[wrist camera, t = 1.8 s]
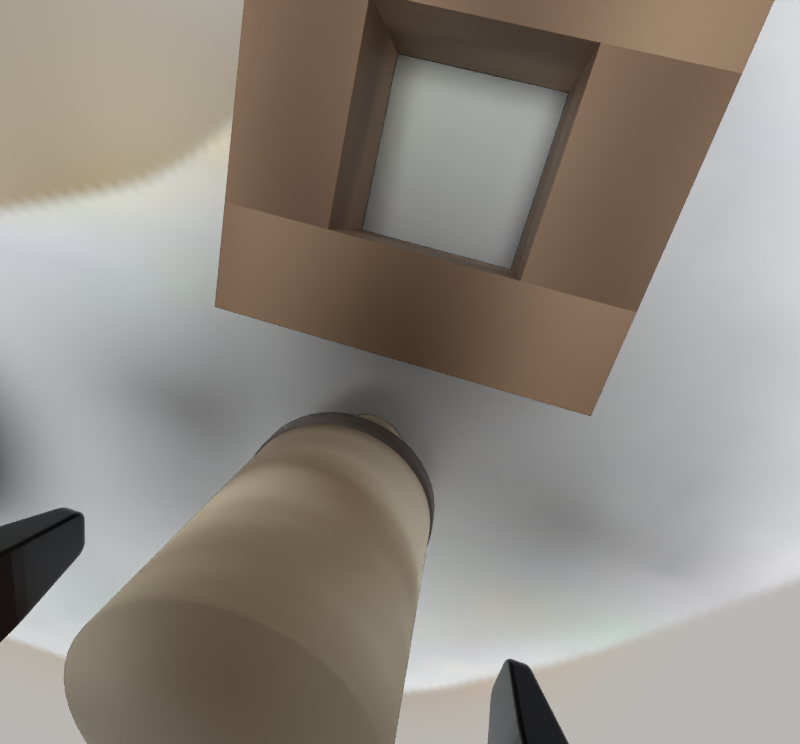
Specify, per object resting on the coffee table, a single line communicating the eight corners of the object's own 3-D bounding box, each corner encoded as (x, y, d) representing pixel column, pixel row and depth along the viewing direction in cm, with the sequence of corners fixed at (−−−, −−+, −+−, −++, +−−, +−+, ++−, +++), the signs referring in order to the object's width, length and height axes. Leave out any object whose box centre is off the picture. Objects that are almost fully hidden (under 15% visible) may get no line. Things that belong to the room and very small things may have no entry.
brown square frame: (269, 291, 14) (214, 306, 11) (322, -91, 10) (264, -211, 8) (566, 375, 13) (590, 416, 10) (721, -9, 10) (822, -110, 7)
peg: (286, 486, 16) (65, 779, 7) (309, 357, 14) (55, 545, 6) (420, 529, 15) (350, 893, 7) (462, 402, 14) (435, 680, 5)
